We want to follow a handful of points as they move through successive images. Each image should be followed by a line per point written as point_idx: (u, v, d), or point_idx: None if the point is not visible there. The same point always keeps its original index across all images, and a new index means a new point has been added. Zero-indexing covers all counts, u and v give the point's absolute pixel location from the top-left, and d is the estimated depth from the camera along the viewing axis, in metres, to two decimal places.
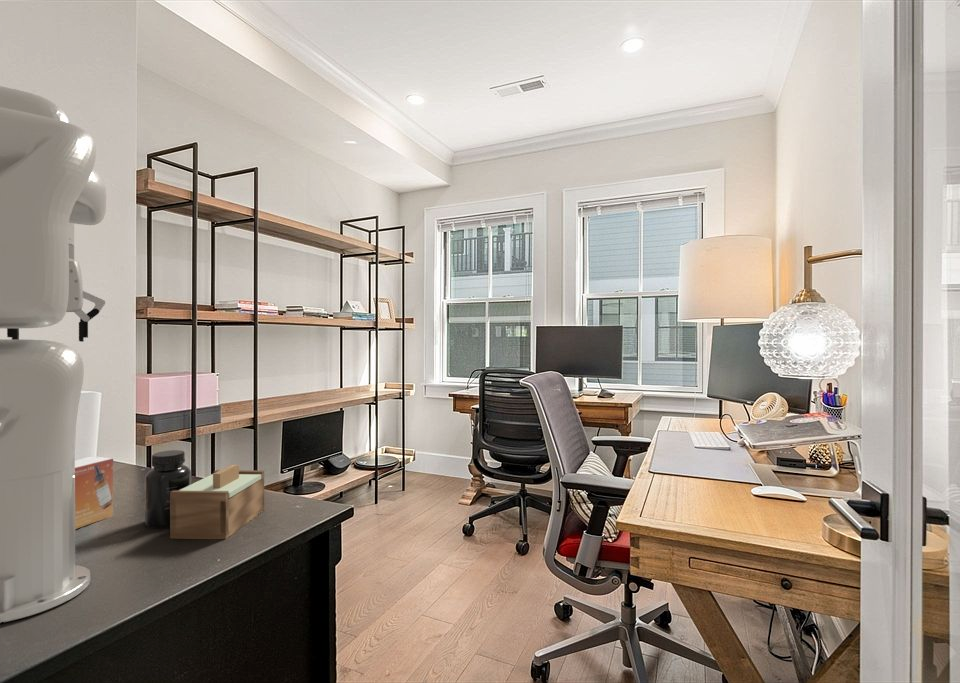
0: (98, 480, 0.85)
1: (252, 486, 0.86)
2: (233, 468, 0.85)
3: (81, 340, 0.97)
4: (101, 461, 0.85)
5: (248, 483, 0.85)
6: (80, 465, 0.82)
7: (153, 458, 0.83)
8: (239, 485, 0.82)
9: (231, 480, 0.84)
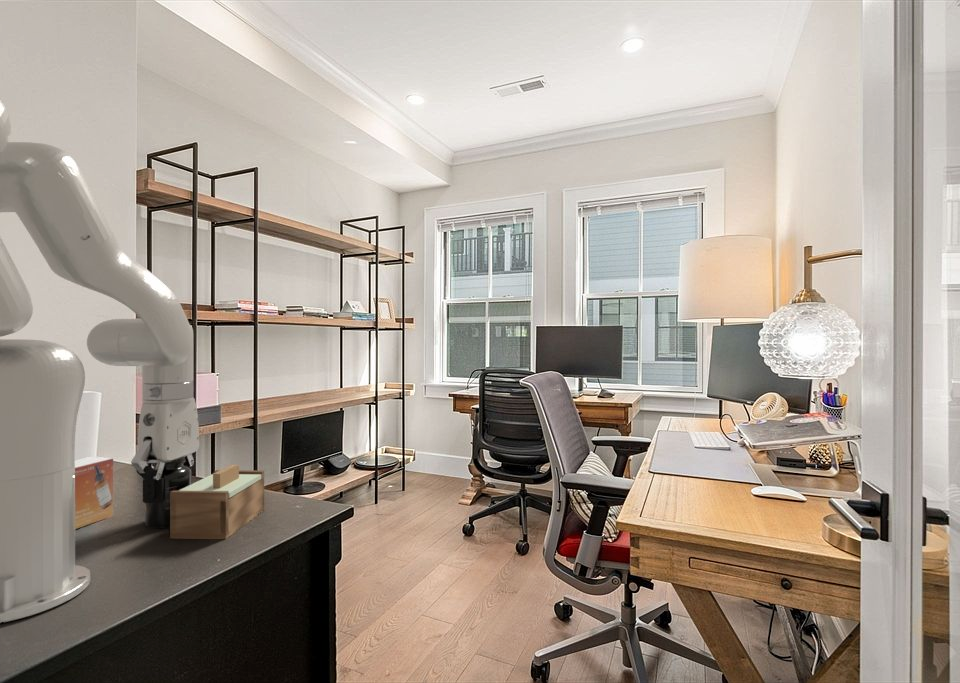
0: (98, 480, 0.85)
1: (252, 486, 0.86)
2: (233, 468, 0.85)
3: None
4: (101, 461, 0.85)
5: (248, 483, 0.85)
6: (80, 465, 0.82)
7: (153, 458, 0.83)
8: (239, 485, 0.82)
9: (231, 480, 0.84)
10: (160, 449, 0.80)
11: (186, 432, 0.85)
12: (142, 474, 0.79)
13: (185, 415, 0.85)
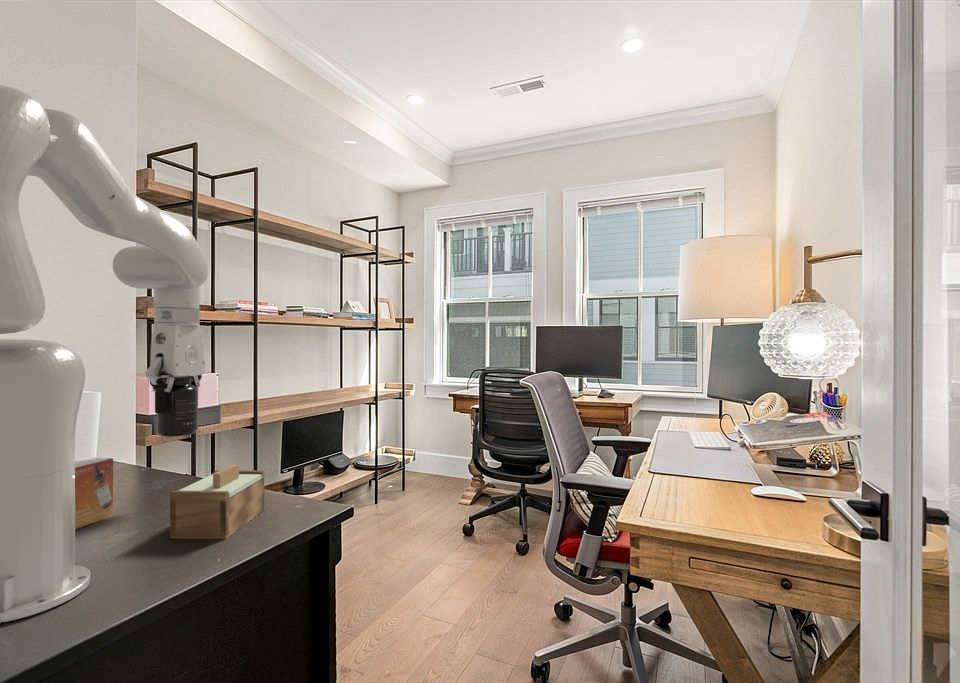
0: (98, 480, 0.85)
1: (252, 486, 0.86)
2: (233, 468, 0.85)
3: None
4: (101, 461, 0.85)
5: (248, 483, 0.85)
6: (80, 465, 0.82)
7: None
8: (239, 485, 0.82)
9: (231, 480, 0.84)
10: (170, 364, 0.90)
11: (193, 354, 0.95)
12: (154, 386, 0.89)
13: (192, 339, 0.95)
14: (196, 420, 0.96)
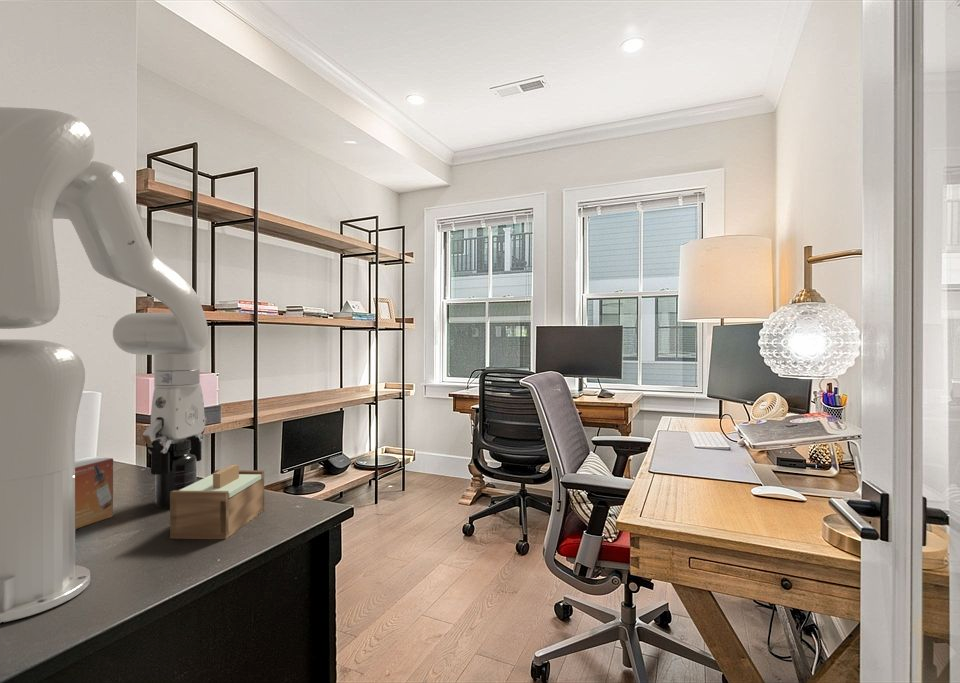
0: (98, 480, 0.85)
1: (252, 486, 0.86)
2: (233, 468, 0.85)
3: None
4: (101, 461, 0.85)
5: (248, 483, 0.85)
6: (80, 465, 0.82)
7: None
8: (239, 485, 0.82)
9: (231, 480, 0.84)
10: (170, 428, 0.90)
11: (193, 414, 0.95)
12: (150, 448, 0.88)
13: (192, 399, 0.95)
14: None
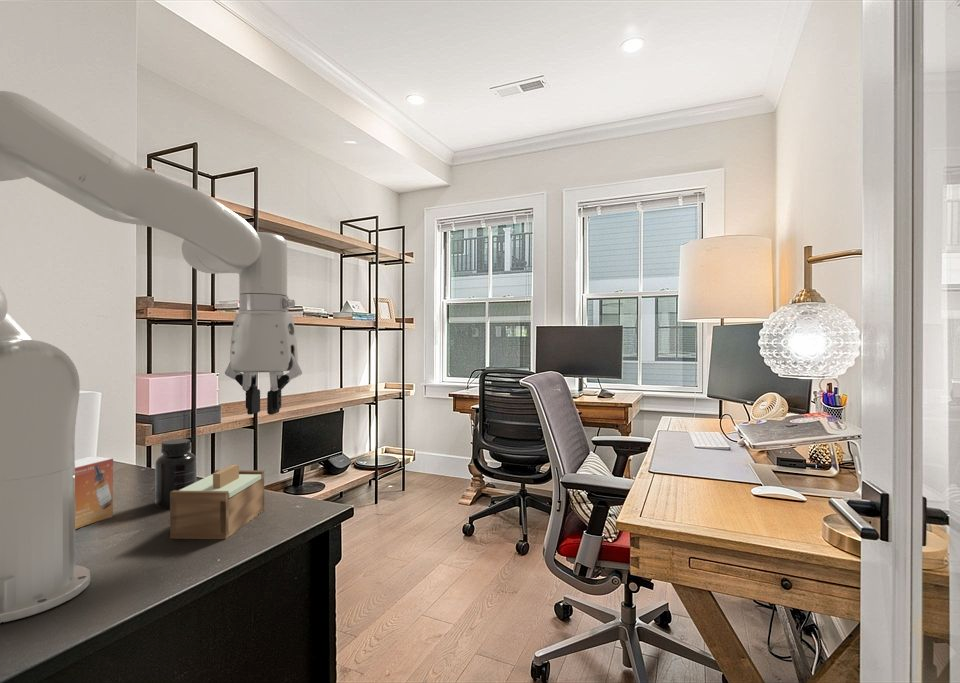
0: (98, 480, 0.85)
1: (252, 486, 0.86)
2: (233, 468, 0.85)
3: None
4: (101, 461, 0.85)
5: (248, 483, 0.85)
6: (80, 465, 0.82)
7: (163, 445, 0.92)
8: (239, 485, 0.82)
9: (231, 480, 0.84)
10: (297, 356, 0.86)
11: None
12: None
13: None
14: None
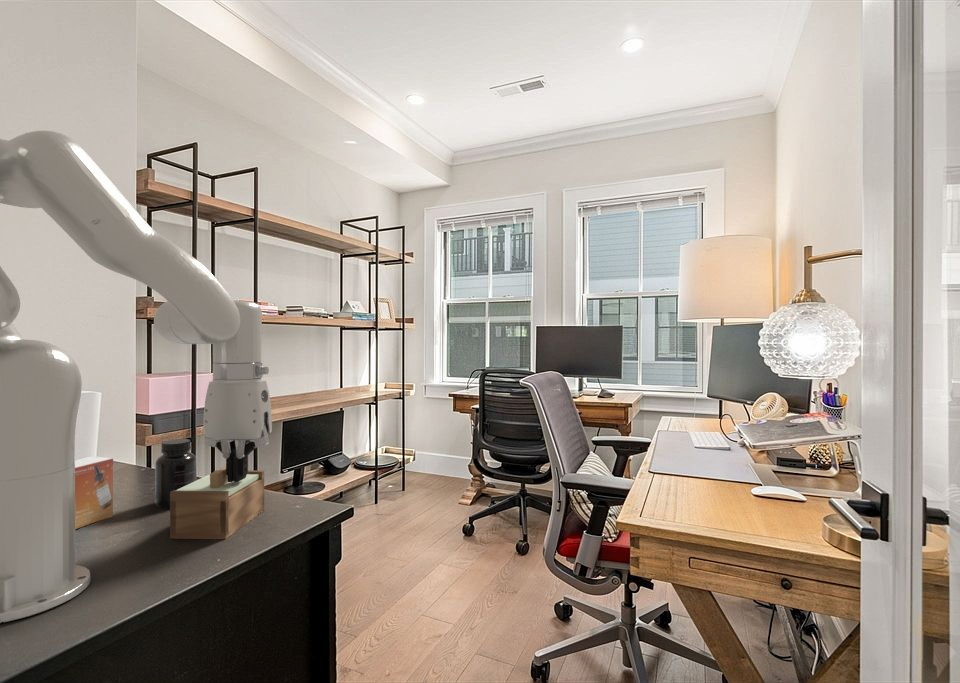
0: (98, 480, 0.85)
1: (252, 486, 0.86)
2: None
3: None
4: (101, 461, 0.85)
5: (245, 483, 0.85)
6: (80, 465, 0.82)
7: (163, 445, 0.92)
8: (236, 485, 0.82)
9: None
10: (271, 422, 0.86)
11: None
12: None
13: None
14: None
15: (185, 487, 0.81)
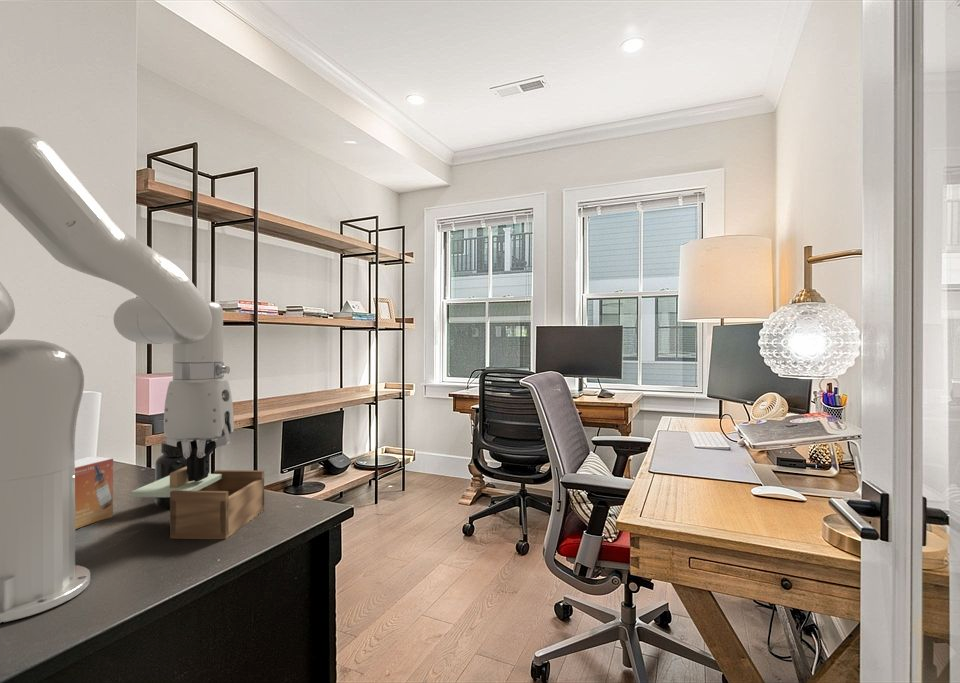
0: (98, 480, 0.85)
1: (252, 486, 0.86)
2: None
3: None
4: (101, 461, 0.85)
5: (207, 483, 0.85)
6: (80, 465, 0.82)
7: (163, 445, 0.92)
8: (197, 485, 0.83)
9: None
10: (233, 421, 0.86)
11: None
12: (211, 449, 0.84)
13: None
14: None
15: (145, 487, 0.81)
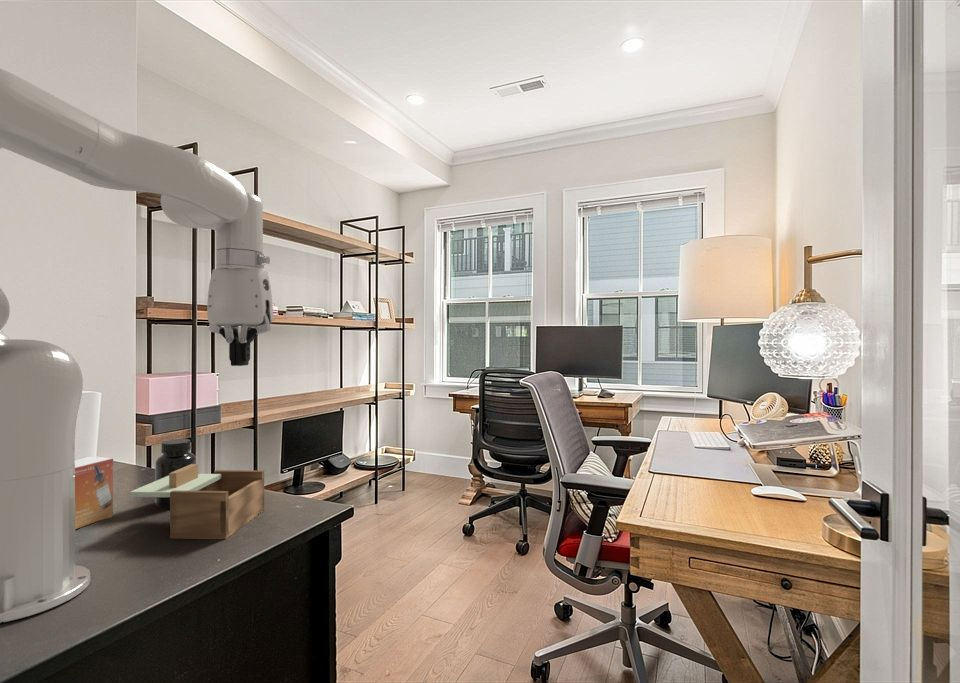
0: (98, 480, 0.85)
1: (252, 486, 0.86)
2: (191, 468, 0.85)
3: None
4: (101, 461, 0.85)
5: (206, 483, 0.85)
6: (80, 465, 0.82)
7: (163, 445, 0.92)
8: (196, 485, 0.83)
9: (189, 480, 0.85)
10: (272, 312, 0.89)
11: None
12: (252, 336, 0.87)
13: None
14: None
15: (144, 487, 0.81)
